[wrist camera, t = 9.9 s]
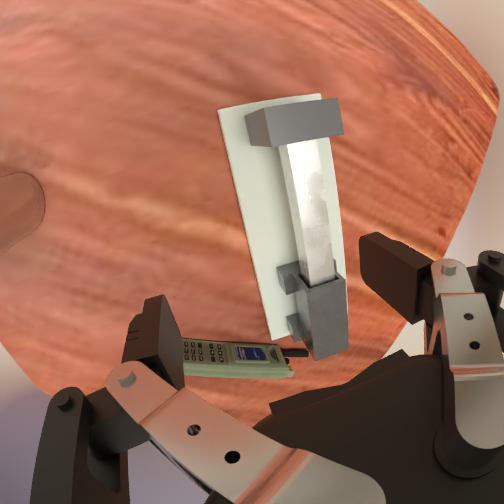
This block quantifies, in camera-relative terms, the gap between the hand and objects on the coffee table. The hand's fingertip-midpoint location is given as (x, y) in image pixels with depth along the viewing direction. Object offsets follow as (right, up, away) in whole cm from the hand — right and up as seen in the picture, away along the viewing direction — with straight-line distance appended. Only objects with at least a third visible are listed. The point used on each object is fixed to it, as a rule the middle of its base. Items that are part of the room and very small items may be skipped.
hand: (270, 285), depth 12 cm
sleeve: (+8, -5, +35) cm, 36 cm away
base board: (+5, +5, +32) cm, 33 cm away
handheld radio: (-3, -15, +38) cm, 41 cm away
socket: (+3, +18, +25) cm, 30 cm away
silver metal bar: (+6, +6, +25) cm, 27 cm away
